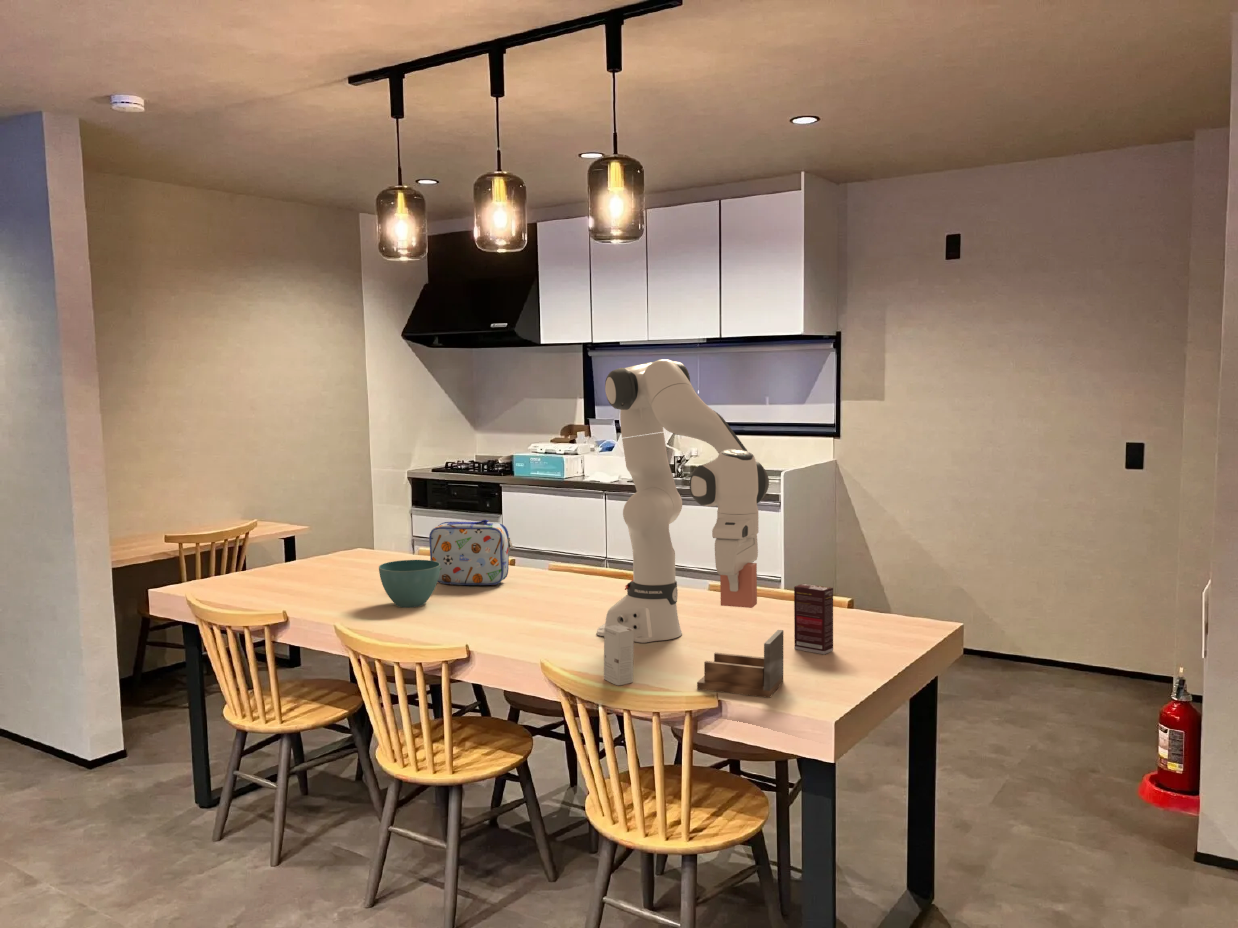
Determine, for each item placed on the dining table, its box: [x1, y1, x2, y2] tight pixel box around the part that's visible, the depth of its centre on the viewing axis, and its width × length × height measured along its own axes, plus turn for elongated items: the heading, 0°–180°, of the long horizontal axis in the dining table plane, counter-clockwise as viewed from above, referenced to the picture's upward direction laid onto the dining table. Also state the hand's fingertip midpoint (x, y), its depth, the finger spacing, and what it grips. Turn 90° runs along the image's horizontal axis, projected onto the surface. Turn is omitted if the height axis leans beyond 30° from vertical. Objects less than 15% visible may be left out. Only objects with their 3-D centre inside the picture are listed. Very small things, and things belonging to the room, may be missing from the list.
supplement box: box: [793, 583, 834, 655], centre depth 234 cm, size 9×5×16 cm, turn 50°
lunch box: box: [428, 519, 514, 586], centre depth 318 cm, size 28×10×22 cm, turn 82°
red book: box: [719, 562, 758, 609], centre depth 207 cm, size 7×4×9 cm, turn 67°
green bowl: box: [378, 559, 440, 609], centre depth 289 cm, size 18×18×12 cm
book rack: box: [696, 629, 784, 699], centre depth 208 cm, size 16×12×12 cm
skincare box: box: [603, 624, 635, 686], centre depth 212 cm, size 6×4×12 cm
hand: (738, 588), depth 207 cm, fingers closed on red book, 4 cm apart
